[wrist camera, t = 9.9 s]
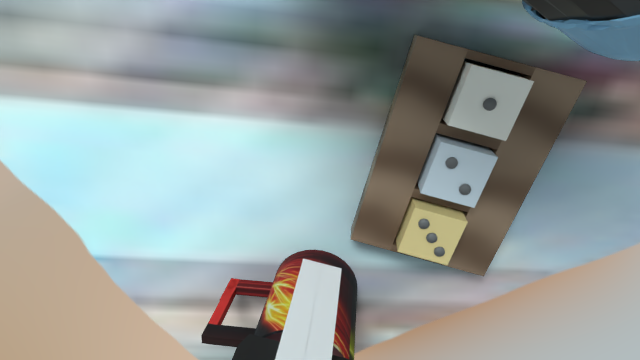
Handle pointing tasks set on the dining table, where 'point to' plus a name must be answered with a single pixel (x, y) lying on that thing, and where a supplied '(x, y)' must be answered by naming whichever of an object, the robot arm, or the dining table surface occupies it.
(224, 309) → the mug
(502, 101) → the tile
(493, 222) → the board
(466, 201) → the two-dot tile
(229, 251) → the dining table surface
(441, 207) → the tile
